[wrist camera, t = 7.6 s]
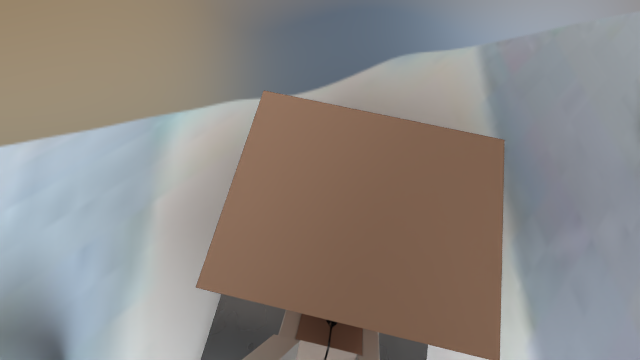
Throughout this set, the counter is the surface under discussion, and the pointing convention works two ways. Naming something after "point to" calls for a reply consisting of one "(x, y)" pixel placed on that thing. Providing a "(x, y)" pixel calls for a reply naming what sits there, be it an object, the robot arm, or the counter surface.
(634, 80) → the counter surface
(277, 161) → the fader knob
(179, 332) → the counter surface
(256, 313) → the fader track
